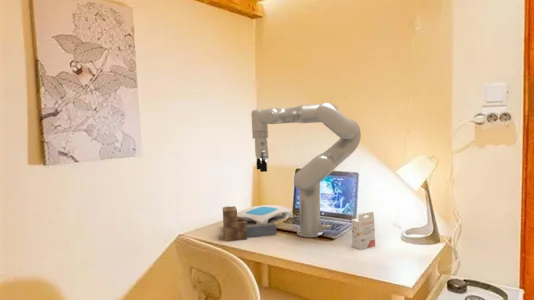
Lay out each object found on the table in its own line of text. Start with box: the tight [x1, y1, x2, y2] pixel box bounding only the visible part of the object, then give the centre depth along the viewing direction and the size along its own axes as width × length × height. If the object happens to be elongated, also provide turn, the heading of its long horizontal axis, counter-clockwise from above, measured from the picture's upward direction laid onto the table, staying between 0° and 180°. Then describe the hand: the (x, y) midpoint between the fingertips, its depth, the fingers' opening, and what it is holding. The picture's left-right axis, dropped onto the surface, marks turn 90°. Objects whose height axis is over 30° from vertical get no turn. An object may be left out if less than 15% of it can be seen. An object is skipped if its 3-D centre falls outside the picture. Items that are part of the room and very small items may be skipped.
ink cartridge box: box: [350, 211, 376, 250], centre depth 159 cm, size 9×5×15 cm, turn 117°
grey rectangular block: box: [246, 222, 277, 239], centre depth 180 cm, size 17×4×7 cm, turn 101°
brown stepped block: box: [222, 206, 248, 242], centre depth 184 cm, size 10×22×14 cm, turn 10°
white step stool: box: [237, 204, 293, 225], centre depth 204 cm, size 21×28×6 cm
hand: (261, 170), depth 185 cm, fingers open, 9 cm apart
